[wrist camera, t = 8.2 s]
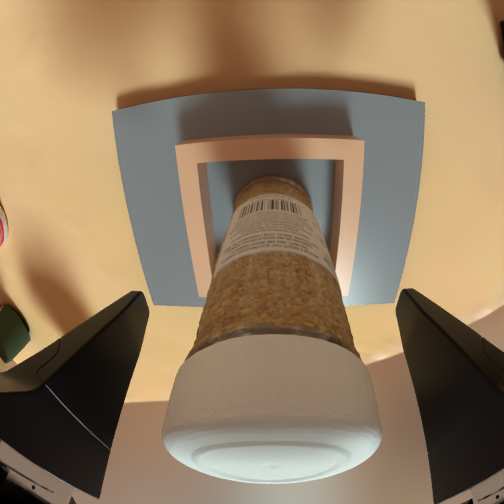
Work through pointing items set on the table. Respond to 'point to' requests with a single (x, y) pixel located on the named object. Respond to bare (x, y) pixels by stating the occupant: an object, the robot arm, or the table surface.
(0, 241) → the pill bottle
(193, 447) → the sprinkles bottle
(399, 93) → the table surface
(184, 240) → the bottle holder
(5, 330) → the character mug
